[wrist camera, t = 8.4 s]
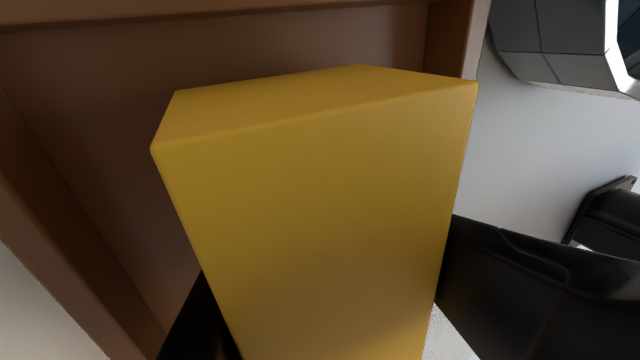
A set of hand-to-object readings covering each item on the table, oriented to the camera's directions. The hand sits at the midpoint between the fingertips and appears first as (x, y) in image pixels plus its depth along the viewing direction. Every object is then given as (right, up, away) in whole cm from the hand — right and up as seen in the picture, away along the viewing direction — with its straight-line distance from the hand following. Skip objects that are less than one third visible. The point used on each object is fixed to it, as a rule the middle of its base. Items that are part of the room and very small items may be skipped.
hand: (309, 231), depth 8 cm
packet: (0, +1, +1) cm, 1 cm away
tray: (-1, +1, +2) cm, 3 cm away
